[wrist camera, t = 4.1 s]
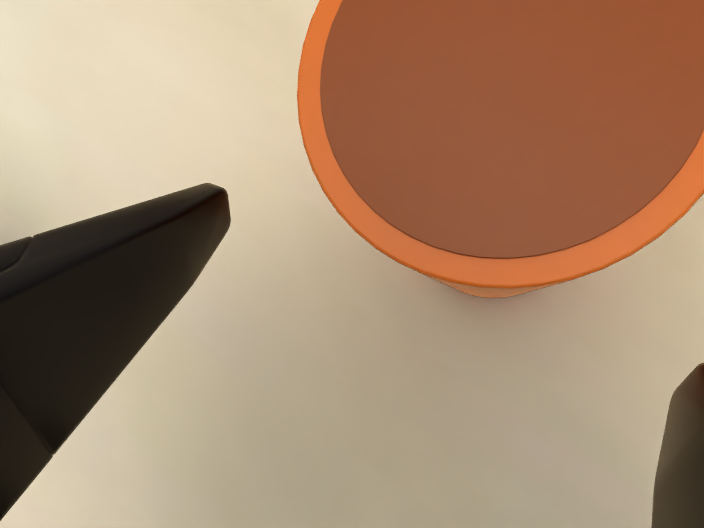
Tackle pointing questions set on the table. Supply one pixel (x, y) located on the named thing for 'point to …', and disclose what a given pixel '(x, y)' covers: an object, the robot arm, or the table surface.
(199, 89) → the table surface
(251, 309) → the table surface
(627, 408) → the table surface
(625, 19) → the measuring cup
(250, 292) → the table surface
